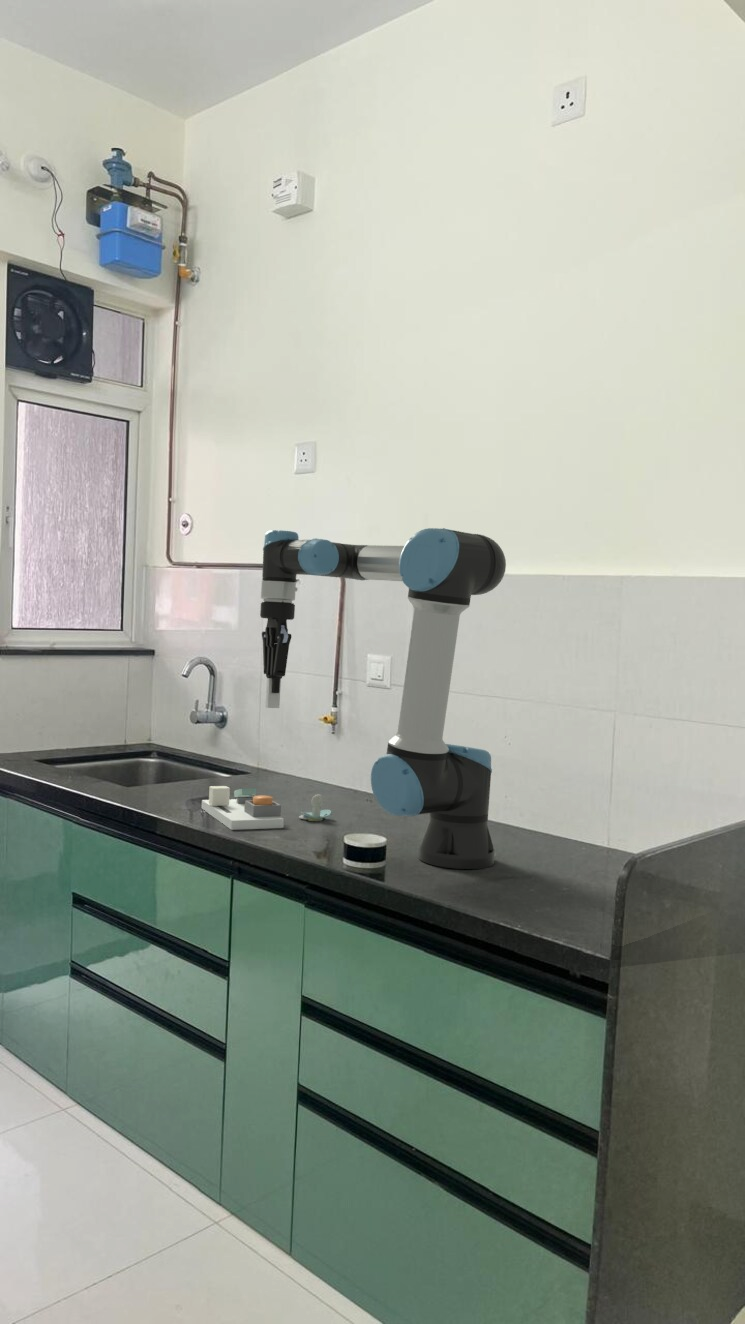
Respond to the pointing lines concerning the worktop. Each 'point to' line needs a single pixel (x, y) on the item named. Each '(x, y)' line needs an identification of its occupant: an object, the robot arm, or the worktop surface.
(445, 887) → the worktop surface
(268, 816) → the panel
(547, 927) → the worktop surface
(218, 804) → the off-white square block
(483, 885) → the worktop surface
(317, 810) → the pacifier
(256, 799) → the plunger button
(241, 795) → the rocker
